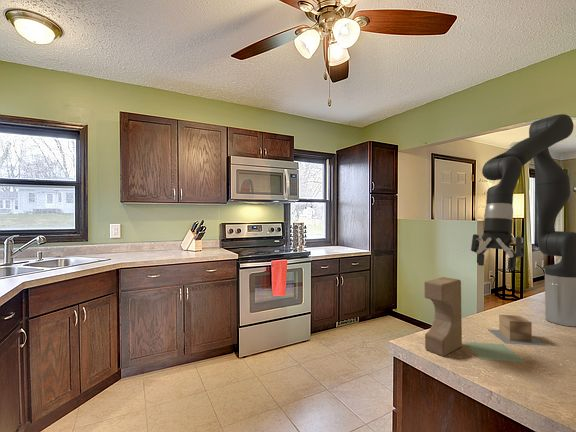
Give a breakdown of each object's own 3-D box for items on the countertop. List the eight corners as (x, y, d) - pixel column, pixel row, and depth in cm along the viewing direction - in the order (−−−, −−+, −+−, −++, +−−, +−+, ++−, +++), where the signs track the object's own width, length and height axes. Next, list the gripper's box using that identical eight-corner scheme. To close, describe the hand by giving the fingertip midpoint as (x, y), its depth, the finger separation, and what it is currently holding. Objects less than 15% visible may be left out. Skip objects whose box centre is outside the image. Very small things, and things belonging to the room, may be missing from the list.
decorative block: (443, 357, 78) (442, 284, 79) (423, 349, 83) (422, 281, 83) (463, 347, 84) (462, 279, 85) (443, 340, 89) (443, 276, 89)
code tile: (523, 332, 95) (523, 331, 95) (546, 346, 84) (546, 345, 84) (487, 329, 97) (487, 329, 97) (505, 343, 87) (505, 343, 87)
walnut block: (519, 334, 93) (519, 315, 93) (531, 341, 87) (531, 322, 87) (499, 332, 94) (499, 314, 94) (509, 340, 89) (509, 321, 89)
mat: (503, 344, 86) (503, 344, 86) (527, 363, 75) (527, 362, 75) (463, 342, 88) (463, 341, 88) (480, 359, 77) (480, 359, 77)
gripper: (530, 219, 89) (526, 271, 88) (480, 218, 101) (477, 264, 101) (519, 217, 85) (515, 271, 84) (469, 216, 98) (465, 263, 97)
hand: (495, 267), depth 93 cm, fingers open, 8 cm apart
